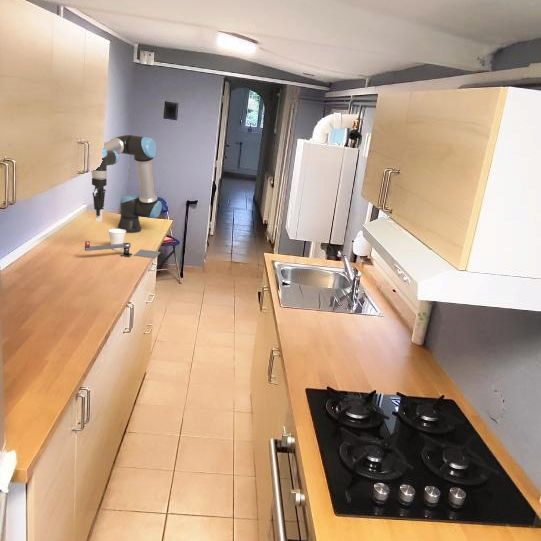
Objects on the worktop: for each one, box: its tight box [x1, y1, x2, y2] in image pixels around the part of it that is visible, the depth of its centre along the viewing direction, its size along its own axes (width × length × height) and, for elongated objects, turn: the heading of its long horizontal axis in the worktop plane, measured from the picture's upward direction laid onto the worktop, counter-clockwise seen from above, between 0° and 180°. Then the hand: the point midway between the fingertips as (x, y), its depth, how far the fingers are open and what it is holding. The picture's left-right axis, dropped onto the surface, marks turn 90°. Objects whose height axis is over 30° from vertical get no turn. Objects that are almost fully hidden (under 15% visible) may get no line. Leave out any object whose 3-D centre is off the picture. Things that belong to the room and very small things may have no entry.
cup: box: [107, 228, 127, 251], centre depth 317 cm, size 10×10×11 cm
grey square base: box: [119, 248, 133, 258], centre depth 307 cm, size 5×5×5 cm
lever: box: [84, 240, 132, 252], centre depth 299 cm, size 4×26×5 cm, turn 130°
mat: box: [133, 249, 161, 259], centre depth 315 cm, size 12×12×1 cm
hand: (98, 221), depth 298 cm, fingers closed
